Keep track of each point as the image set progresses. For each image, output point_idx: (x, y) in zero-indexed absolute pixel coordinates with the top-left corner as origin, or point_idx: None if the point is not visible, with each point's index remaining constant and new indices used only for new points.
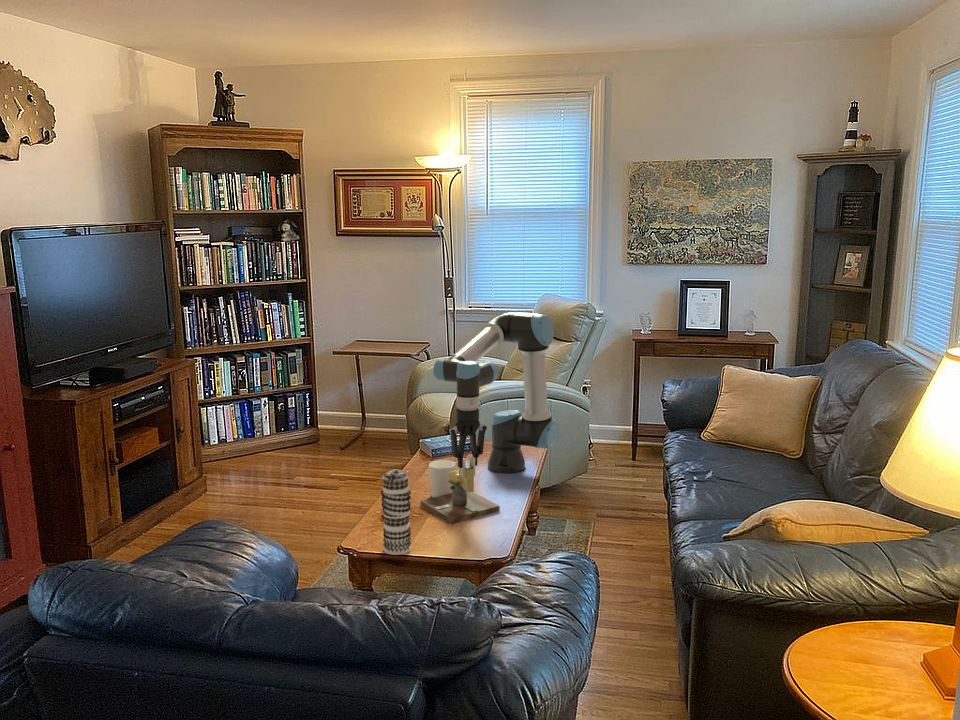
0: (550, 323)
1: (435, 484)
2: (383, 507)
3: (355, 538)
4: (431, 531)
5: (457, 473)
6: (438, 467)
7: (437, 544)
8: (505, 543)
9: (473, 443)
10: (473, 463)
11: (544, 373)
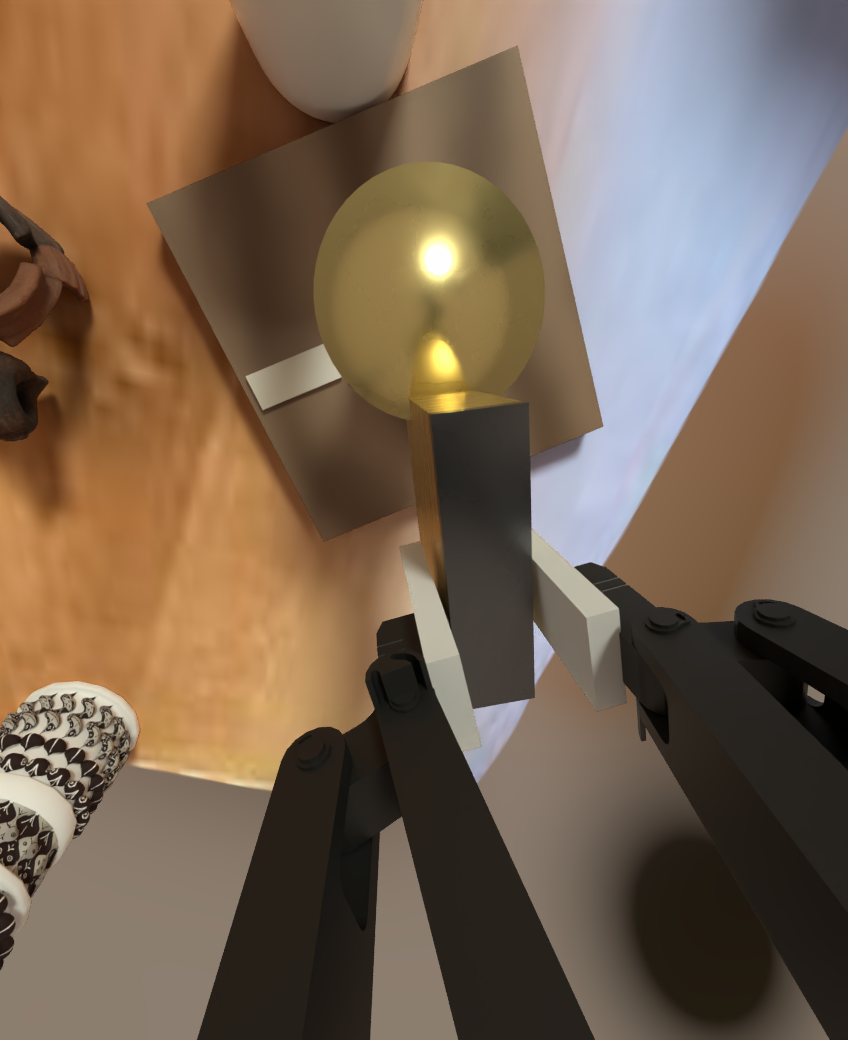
0: None
1: (243, 15)
2: None
3: None
4: (228, 590)
5: (415, 286)
6: None
7: (250, 705)
8: (499, 722)
9: (802, 987)
10: (564, 660)
11: None
